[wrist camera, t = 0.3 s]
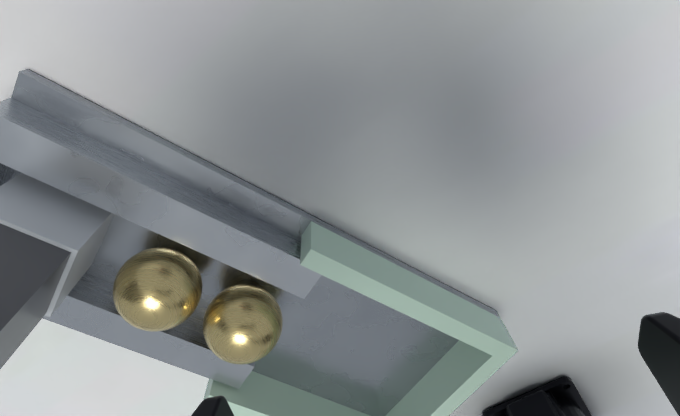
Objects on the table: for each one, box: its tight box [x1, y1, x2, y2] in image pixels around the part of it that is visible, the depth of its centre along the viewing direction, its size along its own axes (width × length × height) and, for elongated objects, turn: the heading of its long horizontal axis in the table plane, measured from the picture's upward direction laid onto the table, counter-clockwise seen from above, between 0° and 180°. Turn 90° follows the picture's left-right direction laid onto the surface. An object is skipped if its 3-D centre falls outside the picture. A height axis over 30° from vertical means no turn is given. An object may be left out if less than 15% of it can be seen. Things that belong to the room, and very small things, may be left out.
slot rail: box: [0, 69, 499, 416], centre depth 23 cm, size 27×12×2 cm, turn 58°
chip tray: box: [204, 221, 518, 416], centre depth 25 cm, size 13×12×3 cm
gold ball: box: [203, 284, 283, 364], centre depth 22 cm, size 4×4×4 cm
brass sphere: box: [113, 247, 203, 332], centre depth 21 cm, size 4×4×4 cm
